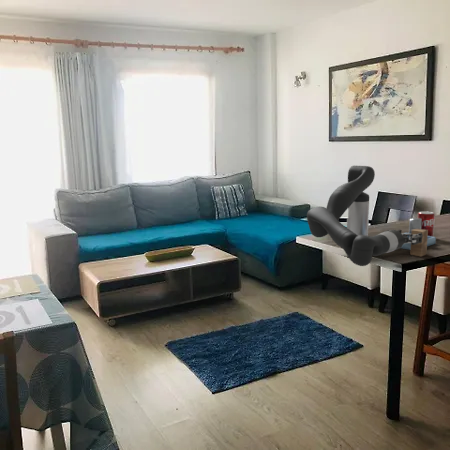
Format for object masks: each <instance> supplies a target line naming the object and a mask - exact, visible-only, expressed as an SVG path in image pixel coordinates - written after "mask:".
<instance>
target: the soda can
mask: <svg viewBox="0 0 450 450" xmlns="http://www.w3.org/2000/svg"><path fill="white" fill-rule="evenodd" d="M435 216H436V214H435V212H433V211H425V210H423V211H418V212H417V217H416V218H421V219H422V221H421V229H424V230H428V236H432V237H434V232H435V219H436V218H435Z"/></svg>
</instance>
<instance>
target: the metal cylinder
mask: <svg viewBox="0 0 450 450" xmlns="http://www.w3.org/2000/svg"><path fill="white" fill-rule="evenodd" d="M408 220H409V222H408V233H412V230H414V229H421V221H422V219H421V218H417V217H411V218H409V219H408ZM409 237H410V236H409Z"/></svg>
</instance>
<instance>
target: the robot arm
mask: <svg viewBox="0 0 450 450" xmlns="http://www.w3.org/2000/svg"><path fill="white" fill-rule="evenodd" d="M375 176H376V175H375V170H374V168H373V167H371V166H369V165H368V166H367V165H352V166H350V167H349V169H348V171H347V182H346V183H343V184H341V185H339V186H338V187H337V188H336V189H334V191H333V192H331V194H330V196H329V198H328V200H327V203H326V204H327V205H326V207H325V206H316V207H315V206H314V207H312V208H311V209H308V211H307V213H306V220H307V224H308V227H309V230H310V234H311V235H312V236H313V237H315V238H324V237H325V236H328V235H329V236H330V237H329V238H331V240H332V241H333V242H334V243H335V244H336V245H337V246H339V247H340V248H341V249H343V251H344V252H345V254H346V256H347V258H348V259H349V261H351V262H352V263H353V264H355V265H356V266H360V267H365V266H368V265H369V264H370V263H371V262H372V259H373V257H377V256H381V255H384V254H388V253H391V252H394V251H396V250H399V249H402V248H401V247H402V245H403V244H405V243H411V245H415V244H418V243H421V242H422V238H423V234H422V233H418V234H415V235H413V234H411V233H409V232H408V233H409V234H404V233H405V232H402V229H390V230H389V229H387V230H385V231H382V232H380V233H378V234H376V235H373V236H371V235H369V219H370V218H369V215H370V194H368V193H367V192H365V190H366V189H368V188H369V187H370V186H371V185H372V184H373V182H374V179H375ZM346 211H347V217H346V226H345V225H344V224H343V223H342V222H341V221H339V220H340V219H341V218H342V216H343V215H344V214H345V212H346ZM408 236H410V237H409V238H408ZM414 236H415V237H414Z"/></svg>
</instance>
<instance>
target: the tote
mask: <svg viewBox="0 0 450 450" xmlns="http://www.w3.org/2000/svg"><path fill="white" fill-rule="evenodd" d="M403 233H404V234H409V232H403ZM408 238H409V236H408ZM436 238H437V237H436V236H433V237H432V236H428V237H427V247H429V246H433V245H436V240H437V239H436ZM400 249H403V250H409V251H410V250H411V243H405V244H403V245H402V247H401V248H400Z"/></svg>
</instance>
